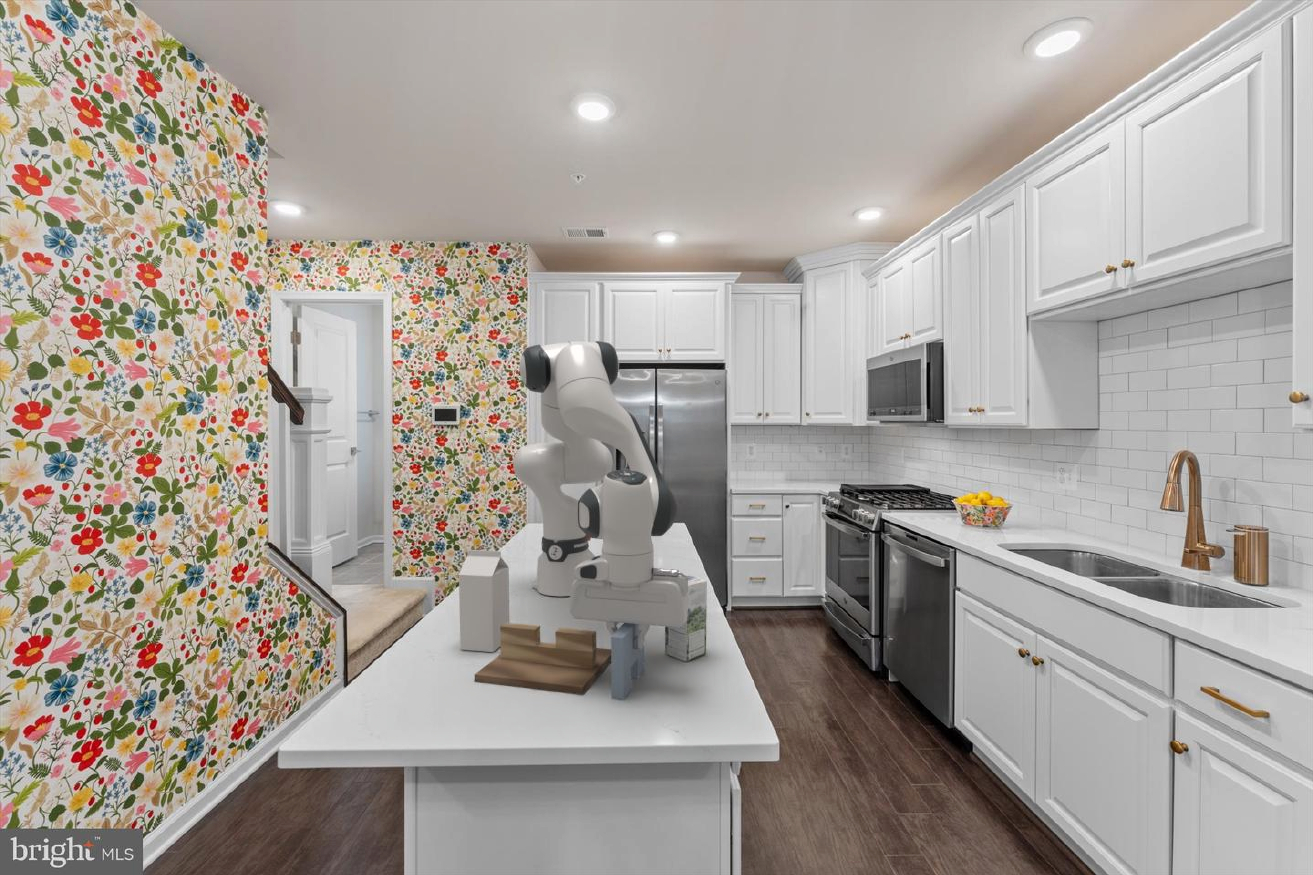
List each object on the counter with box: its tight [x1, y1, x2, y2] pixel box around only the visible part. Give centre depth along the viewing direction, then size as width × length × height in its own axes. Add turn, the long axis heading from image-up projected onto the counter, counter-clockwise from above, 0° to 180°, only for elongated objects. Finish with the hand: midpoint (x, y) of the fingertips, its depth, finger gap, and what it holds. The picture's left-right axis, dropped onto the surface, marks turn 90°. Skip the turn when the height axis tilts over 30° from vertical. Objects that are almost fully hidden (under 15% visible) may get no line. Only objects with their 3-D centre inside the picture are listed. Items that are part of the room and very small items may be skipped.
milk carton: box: [458, 549, 510, 653], centre depth 116 cm, size 7×7×19 cm
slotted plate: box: [610, 623, 645, 701], centre depth 99 cm, size 12×2×10 cm, turn 165°
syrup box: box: [664, 574, 708, 663], centre depth 111 cm, size 6×6×14 cm
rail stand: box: [474, 622, 611, 695], centre depth 105 cm, size 16×20×7 cm
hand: (628, 647), depth 99 cm, fingers closed on slotted plate, 2 cm apart
